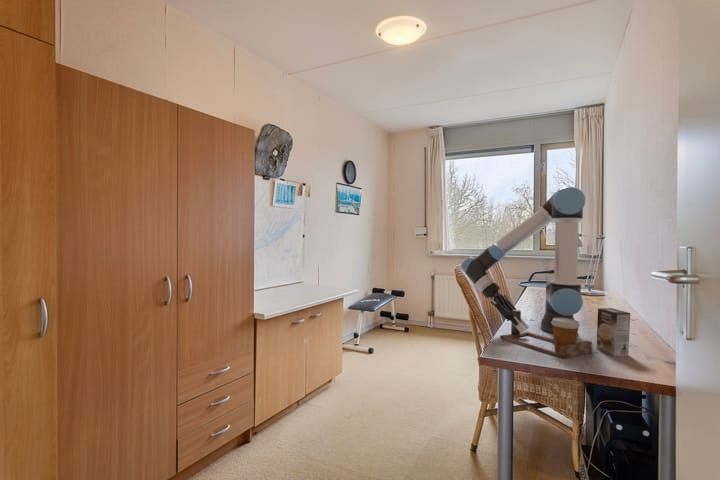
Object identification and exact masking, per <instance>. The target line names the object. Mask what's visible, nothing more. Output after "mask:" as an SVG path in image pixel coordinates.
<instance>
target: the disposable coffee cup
mask: <svg viewBox="0 0 720 480" xmlns="http://www.w3.org/2000/svg"><path fill="white" fill-rule="evenodd" d="M551 323H552V325H553V333H552V334H553V339H554V343H553V344H554V351H555V352H559V348H560V346H564V345H569V344H574V343H577V337H578V331H579V328H580V327H581V325H580V323H579V321H578V320H576V319H575V320H573V319H568V318H553V320H552V321H551Z"/></svg>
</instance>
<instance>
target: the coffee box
mask: <svg viewBox="0 0 720 480" xmlns="http://www.w3.org/2000/svg"><path fill="white" fill-rule="evenodd" d="M596 326H597V329H596V349H597V350H599V351H601V352H604V353H606V354H609V355H610V356H614V357H616V356H617V357H620V356H621V357H622V356H624V357H625V356H629V354H630V353H629V351H630V331H631V313H630V312H626V311H624V310H621V309H616V308H612V307H609V308H608V307H607V308H606V307H604V308H603V307H602V308H599V307H598V309H597V325H596Z"/></svg>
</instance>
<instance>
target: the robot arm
mask: <svg viewBox="0 0 720 480" xmlns="http://www.w3.org/2000/svg"><path fill="white" fill-rule="evenodd" d="M585 205H586V196H585V193H584V192H583V191H582V190H581V189H579V188H577V187H574V186H565V187H561V188H560V189H558V190H556V191H555V192H554V193H553V194H552V195H551V197H549V199H547V201H545V202H544V203H543V204H541V206H539V210H537V211H536V212H535V213H533V214H532V215H531V216H529V217H528V218H527V219H525V220H523V221H522V222H521V223H520V224H517V226H516V227H514V228H513V229H512V230H510V231H509V232H507V233H506V234H505V235H504V236H503V237H501V238H500V239H498V240H497V241H495V242H494V243H493V244H491V245H490V246H489V247H486V248H485V249H484V250H483V252H482V253H480V254H479V255H478V256H477V257H473V256H469V257H468V258H467V259H464V260H463V261H462V263H461V265H460V268H461V270H462V271H463V272H464V273H465V275H466V276H467V277H468V278H469V280H470V281H471V282H472V283H473V284H474V285H475V286H476V289H478V290H479V291H480V292H481V294H482V295H483V297H484V298H486V299H491V300H490V303H491V304H492V306H494V308H496V309H497V311H498V312H499V313H500V314H501V315H502V317H504V318H505V319H506V321H507V322H509V321H510V322H511V323H513V325H514V326H515V327H516V328H517V329H518V330H519V332H520V333H522V332H526V331H527V330H528V329H529V328H530V326H529V325H528V324H527V322H525V320H524V319H523V318H522V317H521V322H520V321H519V320H518V319H517V318H516V317H514V316H513V314H512V310H518V309H517V308H516V307H515V305H514V304H513V303H512V302H511V301H510V300H509V299H508V297H507V296H506V295H505V294H504V295H503V294H501V293H500V292H499V291H500V289H501V287H500V286H499V285H498V284H497V283H496V282H495V281H494V279H493V278H492V277H491V276H490V275H489V274H488V273H487V271H489V269H491V268H492V267H493V266H495V265H496V264H497V263H499V262H500V261H501V260H502V259H503V258H505V256H506V255H507V254H509V253H510V252H511V251H513V250H514V249H515V248H517V247H518V246H520V245H521V244H522V243H524V242H525V241H527V240H528V239H530V237H532V236H534V235H535V234H536V233H538V232H539V231H541V230H542V229H544V228H545V227H546V226H548V225H549V224H550V223H552V224H553V223H555V225H554V229H555V232H554V262H553V263H554V265H553V266H554V267H553V268H554V269H553V274H554V276H553V278H552V280H548V281H546V283H545V286H544V287H545V305H544V306H545V307H544V314H543V317H542V318H541V319H542V320H541V322H540V330H542V331H544V332H546V333H551V334H553V325H552V323H551V321H552V320H553V318H568V319H573V320H576V319H575V317H574V315H575V314H578V313H579V312H580V311H581V309H582V308H583V305H584V303H583V302H584V301H583V300H584V299H583V297H582V294H581V291H582V282H580V281H579V280H578V251H579V250H578V249H579V248H578V245H579V244H578V243H579V241H578V240H579V223H580V222H581V221H582V220H583V211H584V208H585Z"/></svg>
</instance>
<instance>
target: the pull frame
mask: <svg viewBox="0 0 720 480" xmlns="http://www.w3.org/2000/svg"><path fill="white" fill-rule="evenodd" d="M512 314H513V316H514V317H516V318H517V319H518V320H519V321H520V322H521V318H522V311H521V310H518V309H517V310H512ZM510 328H511V330H510V333H508V334H502V335H500V336H499V339H501V340H504V341H507V342H511V343H512V344H513V343H514V344H515V345H516V344H517V345H520V346H522V347H526V348H529V349H532V350H535V351H538V352H542V353H544V354H547V355H551V356H553V357H556V358H560V359H563V360H564V359H568V358H573V357H578V356H582V355H585V354H586V355H587V354H591V353H592V350H593V349H592V347H593V345H592V344H593V342H592V341H589V340H586V341H579V342H576V343H574V344H569V345H564V346H560V348H559V352H556V351H555V350H552V349H549V348H547V347H546V348H545V347H542V346H538V345H536V344H534V343H533V344H532V343H529V342H526V341H522V340H520V339H517V338H519V337H526V336H529V337H531V338H532V337H533V338H536V339H540V340H542V341H543V340H544V341H547V342H550V343H553V344H554V337H548V336H546V335H542V334H539V333H535V332H531V331H527V330H525V331H523V332H522V333H520V332H519V330H518V329H517V328H516V327H515V326H514V325H513V323H512V322H511V327H510Z"/></svg>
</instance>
